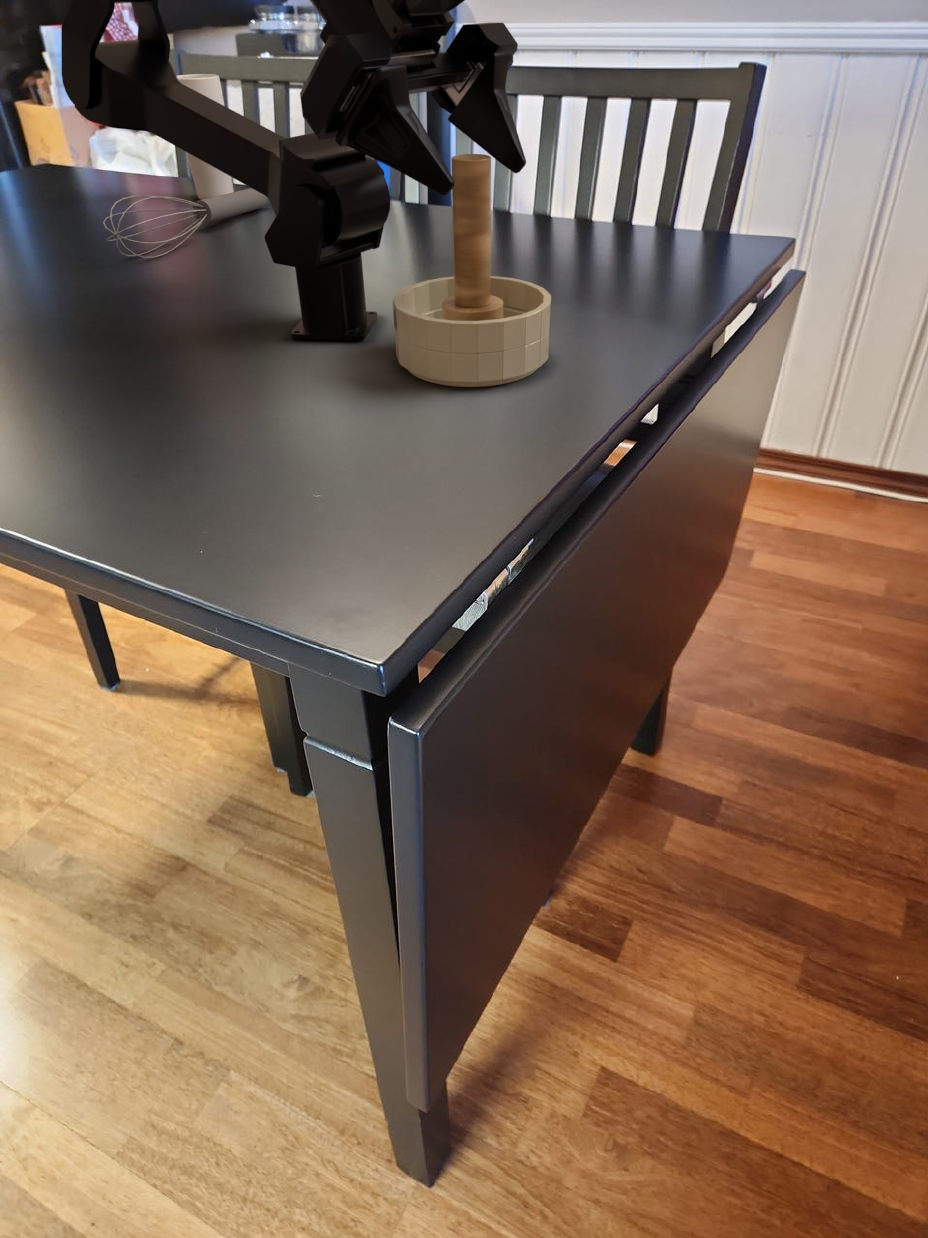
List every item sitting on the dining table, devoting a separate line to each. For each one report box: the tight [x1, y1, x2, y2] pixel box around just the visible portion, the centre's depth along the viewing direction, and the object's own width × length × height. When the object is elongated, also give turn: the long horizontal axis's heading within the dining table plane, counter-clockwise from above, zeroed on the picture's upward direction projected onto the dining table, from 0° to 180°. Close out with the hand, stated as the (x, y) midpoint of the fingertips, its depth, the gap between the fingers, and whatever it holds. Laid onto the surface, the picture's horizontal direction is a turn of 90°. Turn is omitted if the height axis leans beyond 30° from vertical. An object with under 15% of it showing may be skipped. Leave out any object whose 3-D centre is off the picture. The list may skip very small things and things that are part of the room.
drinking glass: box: [176, 73, 235, 200], centre depth 116 cm, size 7×7×15 cm
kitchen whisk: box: [102, 187, 269, 259], centre depth 102 cm, size 6×34×6 cm, turn 162°
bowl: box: [392, 275, 552, 388], centre depth 65 cm, size 12×12×5 cm
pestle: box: [442, 153, 503, 321], centre depth 62 cm, size 5×5×14 cm
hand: (487, 178), depth 58 cm, fingers open, 9 cm apart
